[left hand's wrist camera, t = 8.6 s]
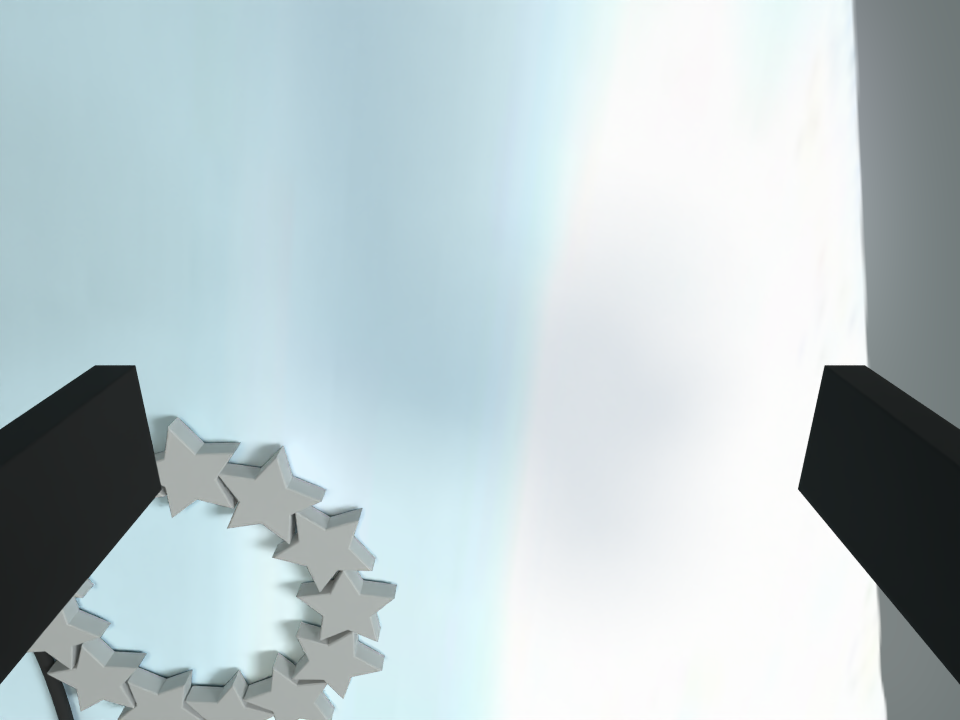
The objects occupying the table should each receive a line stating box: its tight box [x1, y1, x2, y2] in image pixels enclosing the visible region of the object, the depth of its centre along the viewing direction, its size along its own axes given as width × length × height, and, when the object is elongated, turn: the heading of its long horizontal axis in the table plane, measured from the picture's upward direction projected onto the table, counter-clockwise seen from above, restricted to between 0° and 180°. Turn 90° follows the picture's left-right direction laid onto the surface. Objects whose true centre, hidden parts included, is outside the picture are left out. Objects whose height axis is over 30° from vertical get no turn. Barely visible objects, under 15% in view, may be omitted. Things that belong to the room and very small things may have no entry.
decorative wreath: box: [27, 417, 397, 720], centre depth 48 cm, size 30×2×30 cm
